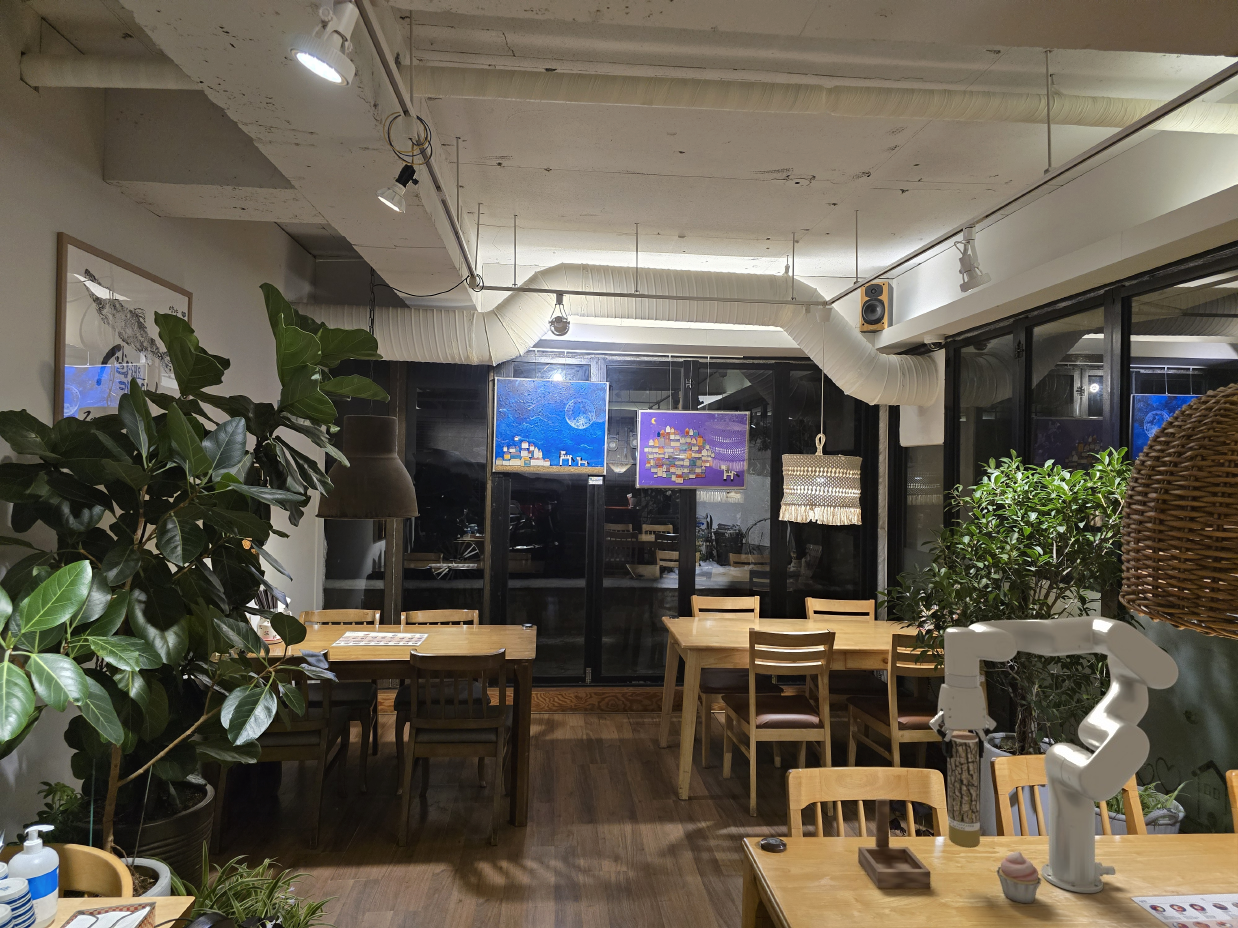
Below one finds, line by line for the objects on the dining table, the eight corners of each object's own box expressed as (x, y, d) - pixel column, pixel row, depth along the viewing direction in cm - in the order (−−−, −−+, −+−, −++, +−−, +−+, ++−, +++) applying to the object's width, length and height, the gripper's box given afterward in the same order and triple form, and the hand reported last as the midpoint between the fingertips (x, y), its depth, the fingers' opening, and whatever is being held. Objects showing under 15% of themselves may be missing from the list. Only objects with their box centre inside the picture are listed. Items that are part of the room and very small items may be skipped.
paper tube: (983, 850, 176) (981, 740, 177) (952, 847, 178) (950, 738, 178) (975, 837, 183) (974, 731, 184) (945, 834, 184) (944, 730, 185)
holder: (905, 859, 190) (906, 798, 190) (930, 887, 176) (930, 821, 177) (856, 859, 189) (857, 798, 190) (877, 887, 176) (878, 821, 176)
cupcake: (1052, 905, 169) (1052, 860, 170) (1014, 908, 168) (1014, 862, 168) (1023, 884, 179) (1023, 841, 179) (987, 886, 177) (987, 843, 178)
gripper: (989, 676, 186) (990, 750, 185) (919, 676, 185) (920, 751, 184) (1006, 683, 178) (1007, 761, 178) (933, 684, 177) (934, 762, 177)
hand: (963, 755), depth 181 cm, fingers closed on paper tube, 6 cm apart
